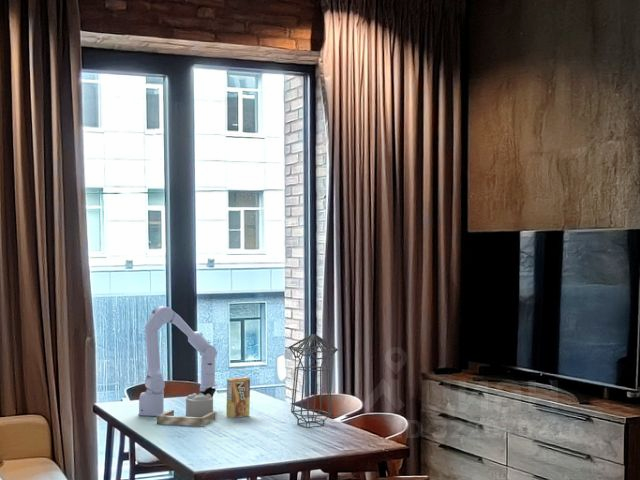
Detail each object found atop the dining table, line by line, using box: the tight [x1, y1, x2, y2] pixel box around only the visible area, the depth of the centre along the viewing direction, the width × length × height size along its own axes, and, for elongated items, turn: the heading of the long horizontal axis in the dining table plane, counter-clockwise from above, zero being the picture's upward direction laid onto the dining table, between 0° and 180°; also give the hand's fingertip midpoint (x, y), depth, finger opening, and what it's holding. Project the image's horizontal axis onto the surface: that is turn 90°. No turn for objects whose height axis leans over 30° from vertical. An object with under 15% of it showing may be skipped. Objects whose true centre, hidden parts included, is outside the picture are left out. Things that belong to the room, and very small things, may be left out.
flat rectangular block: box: [156, 409, 216, 427], centre depth 341 cm, size 19×14×3 cm
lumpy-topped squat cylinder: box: [185, 392, 214, 417], centre depth 354 cm, size 10×13×9 cm
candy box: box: [225, 376, 251, 419], centre depth 353 cm, size 9×4×15 cm, turn 129°
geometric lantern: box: [287, 333, 340, 429], centre depth 337 cm, size 16×16×35 cm
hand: (207, 406), depth 364 cm, fingers closed
